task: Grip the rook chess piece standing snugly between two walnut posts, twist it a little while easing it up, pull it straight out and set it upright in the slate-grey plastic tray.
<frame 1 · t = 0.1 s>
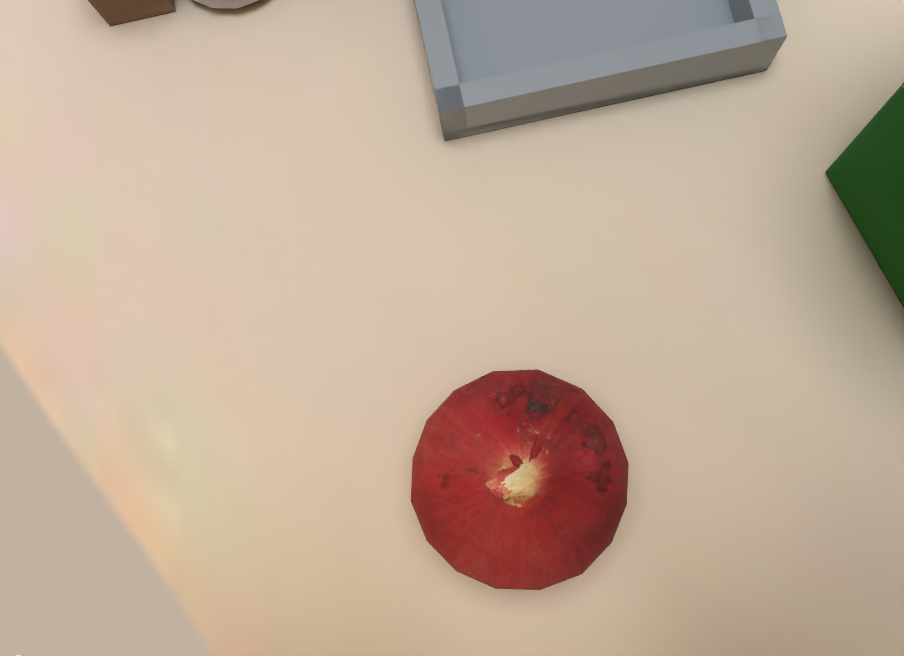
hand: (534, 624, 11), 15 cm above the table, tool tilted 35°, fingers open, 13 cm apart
red round fruit: (517, 479, 27), on the table
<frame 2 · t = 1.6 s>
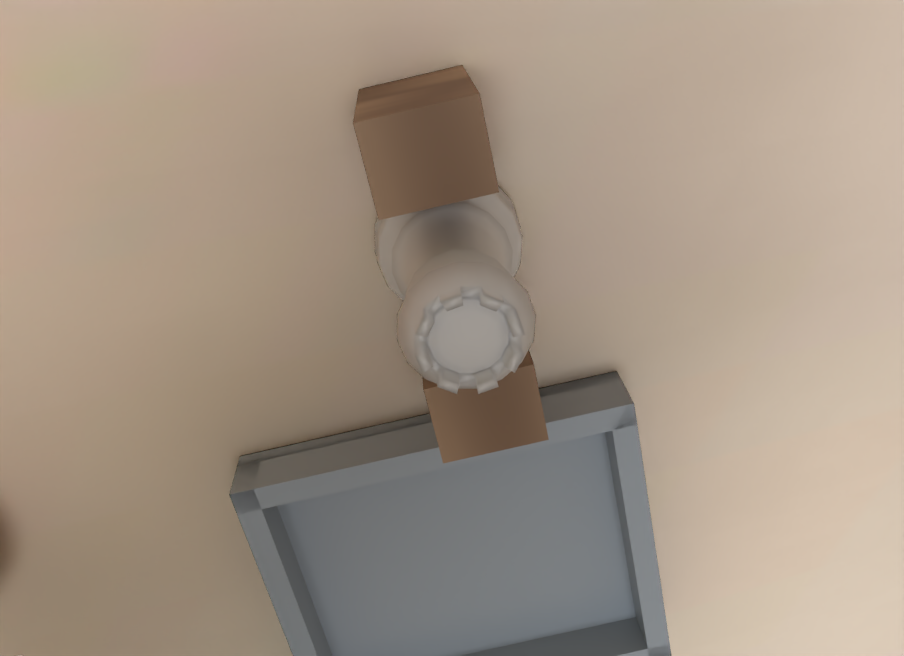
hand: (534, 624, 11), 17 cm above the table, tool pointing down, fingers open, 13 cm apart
rook chess piece: (446, 232, 27), on the table
tray: (461, 542, 31), on the table
walnut posts: (446, 234, 26), on the table
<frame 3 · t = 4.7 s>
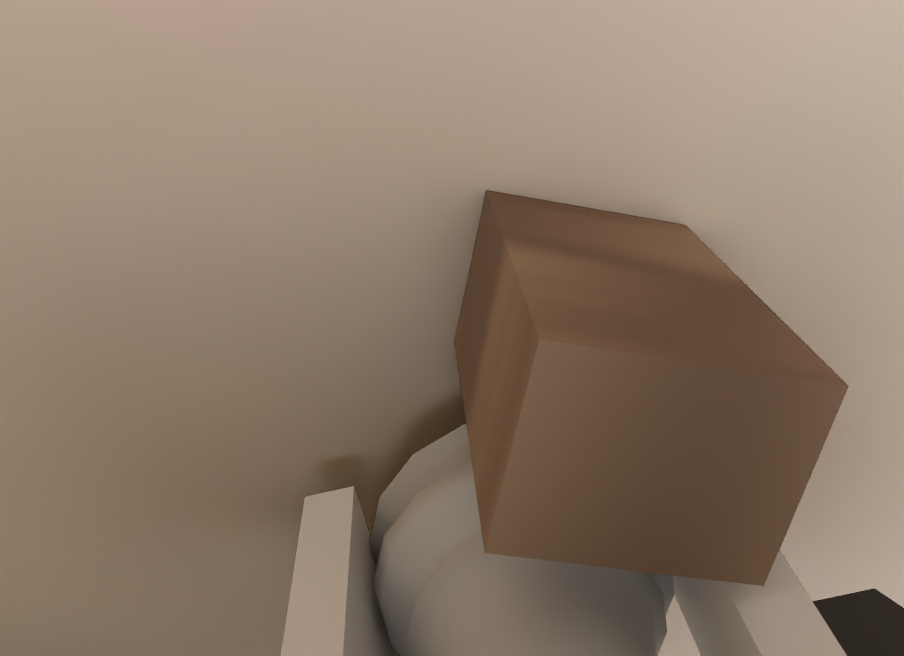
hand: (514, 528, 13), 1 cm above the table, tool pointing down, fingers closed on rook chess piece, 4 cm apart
rook chess piece: (510, 513, 14), point 1 cm above the table, touching gripper
walnut posts: (515, 483, 14), on the table
when the fingers open (2 cm above the table, at t = 9.8 s): rook chess piece stays where it is, resting on tray.
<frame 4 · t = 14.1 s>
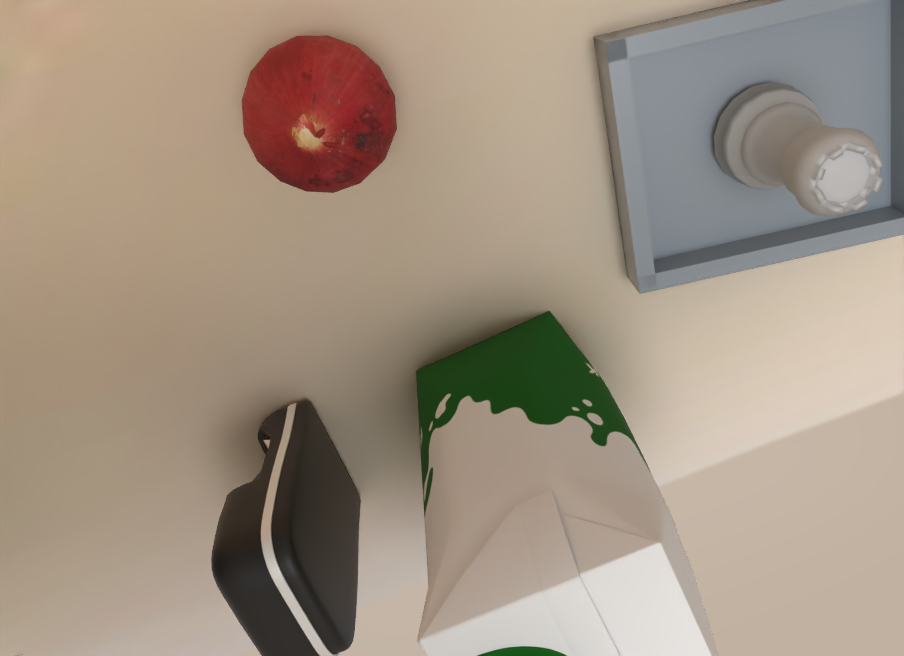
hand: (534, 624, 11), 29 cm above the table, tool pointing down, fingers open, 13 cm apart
rook chess piece: (758, 132, 38), resting on tray
milk carton: (511, 394, 43), on the table
tray: (755, 130, 38), on the table
red round fruit: (326, 98, 37), on the table
battery charger: (303, 458, 44), on the table
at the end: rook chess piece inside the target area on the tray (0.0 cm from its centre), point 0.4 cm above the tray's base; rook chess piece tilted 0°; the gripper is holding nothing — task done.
